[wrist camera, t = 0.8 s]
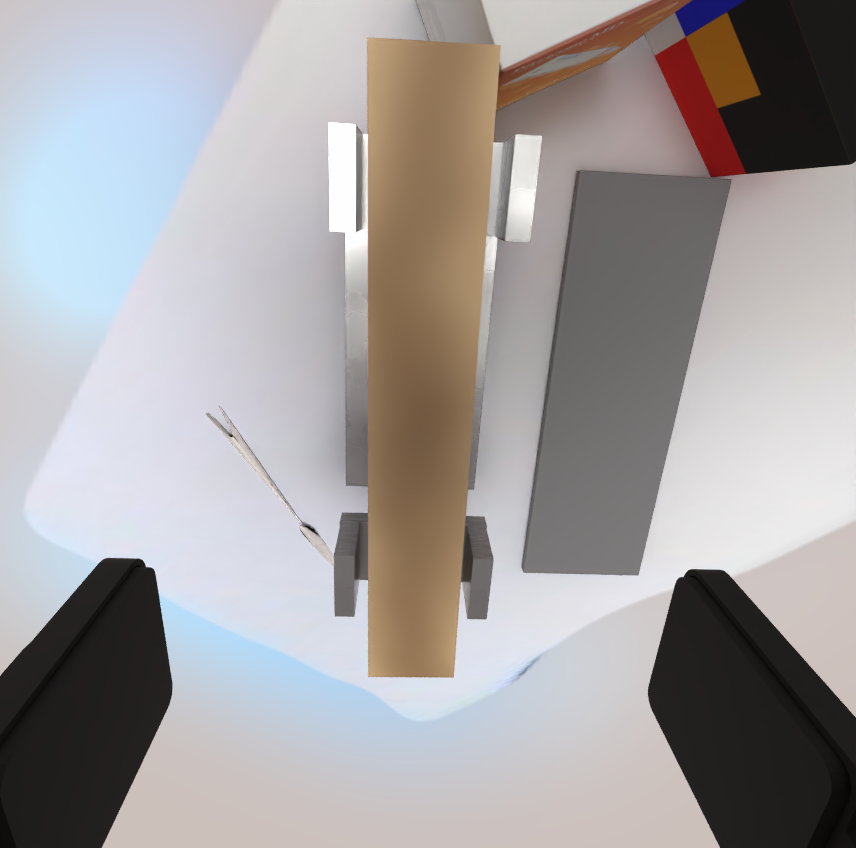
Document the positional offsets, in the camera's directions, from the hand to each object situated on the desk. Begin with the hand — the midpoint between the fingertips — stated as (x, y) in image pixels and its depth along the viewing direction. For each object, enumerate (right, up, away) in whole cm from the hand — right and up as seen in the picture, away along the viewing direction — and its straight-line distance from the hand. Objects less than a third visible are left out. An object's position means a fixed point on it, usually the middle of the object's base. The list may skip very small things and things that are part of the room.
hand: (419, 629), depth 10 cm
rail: (0, +5, +12) cm, 13 cm away
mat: (+11, +5, +24) cm, 27 cm away
